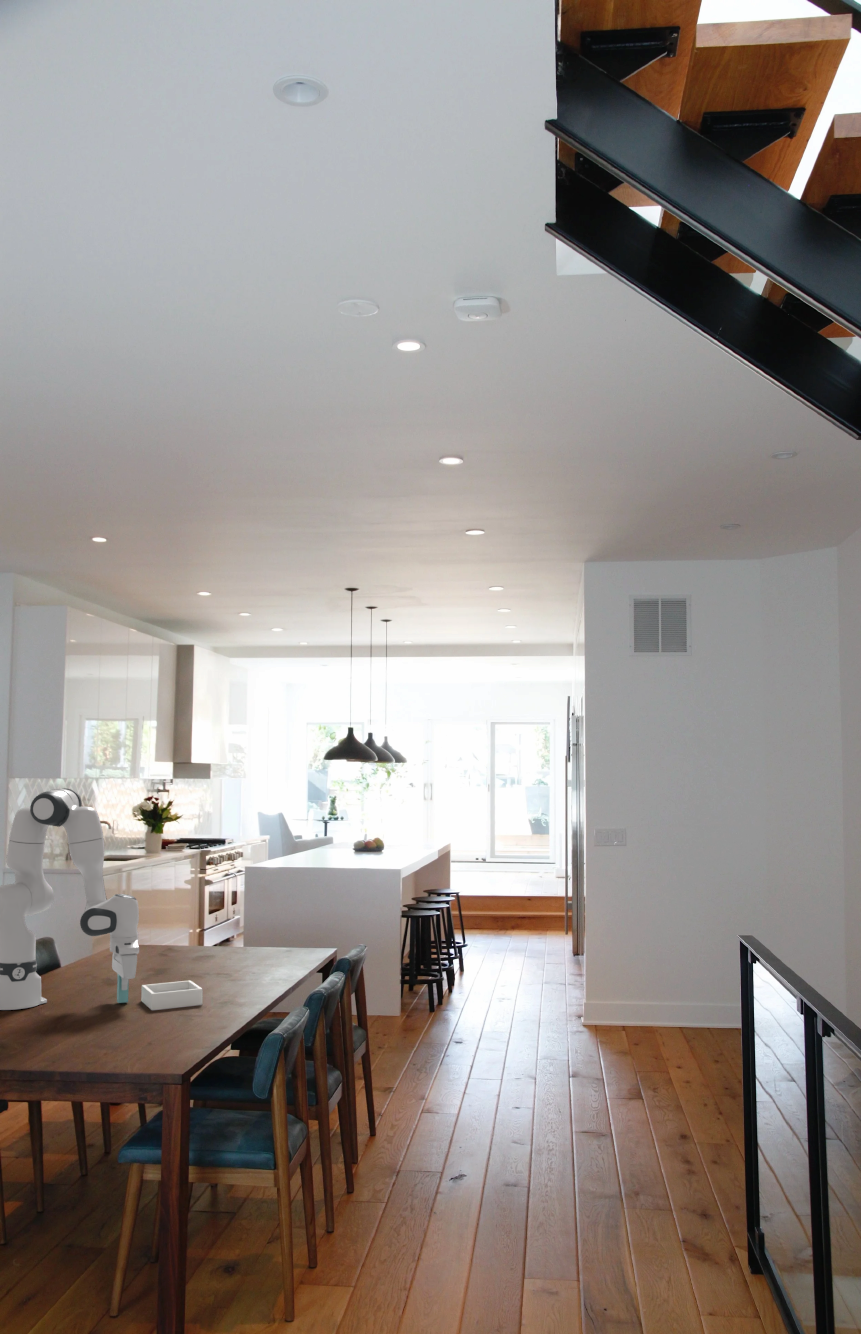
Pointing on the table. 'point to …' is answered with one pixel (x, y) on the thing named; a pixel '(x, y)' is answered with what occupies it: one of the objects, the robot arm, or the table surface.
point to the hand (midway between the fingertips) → (122, 988)
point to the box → (172, 995)
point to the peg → (121, 991)
